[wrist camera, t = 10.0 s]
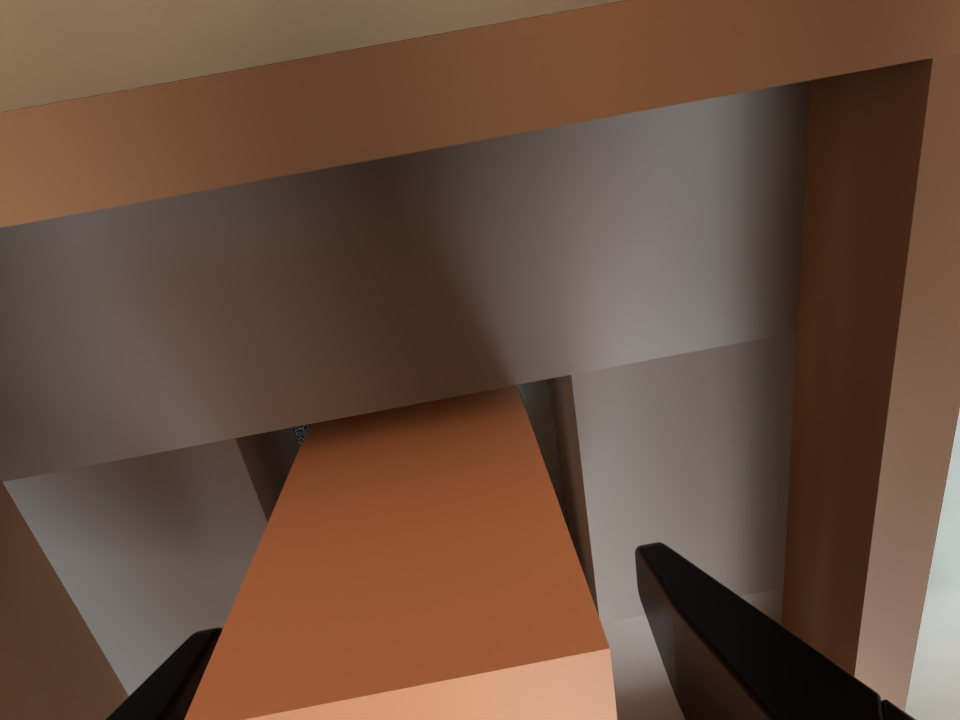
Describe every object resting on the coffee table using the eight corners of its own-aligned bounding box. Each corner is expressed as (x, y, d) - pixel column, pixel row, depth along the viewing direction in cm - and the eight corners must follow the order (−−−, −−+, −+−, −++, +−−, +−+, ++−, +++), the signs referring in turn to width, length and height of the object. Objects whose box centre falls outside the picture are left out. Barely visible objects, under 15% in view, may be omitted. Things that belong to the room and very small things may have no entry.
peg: (366, 549, 13) (303, 955, 7) (320, 398, 12) (178, 732, 5) (533, 517, 13) (635, 887, 7) (509, 363, 12) (610, 648, 5)
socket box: (217, 749, 15) (135, 985, 11) (-89, 174, 9) (-505, 202, 5) (758, 643, 15) (881, 833, 11) (778, 18, 10) (1047, -76, 5)
